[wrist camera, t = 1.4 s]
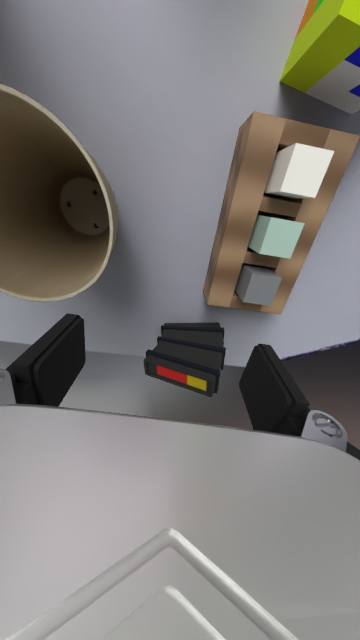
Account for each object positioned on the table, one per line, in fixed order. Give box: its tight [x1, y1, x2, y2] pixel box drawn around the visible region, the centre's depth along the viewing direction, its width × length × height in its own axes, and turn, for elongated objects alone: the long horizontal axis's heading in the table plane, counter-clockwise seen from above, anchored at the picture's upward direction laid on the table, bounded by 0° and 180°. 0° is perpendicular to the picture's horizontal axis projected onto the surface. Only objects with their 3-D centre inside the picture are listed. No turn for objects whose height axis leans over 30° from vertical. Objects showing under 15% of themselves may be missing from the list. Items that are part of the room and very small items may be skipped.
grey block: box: [235, 264, 282, 306], centre depth 30 cm, size 4×4×5 cm
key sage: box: [248, 215, 305, 259], centre depth 26 cm, size 4×4×5 cm
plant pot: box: [0, 84, 118, 302], centre depth 23 cm, size 15×15×16 cm
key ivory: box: [264, 143, 334, 199], centre depth 23 cm, size 4×4×5 cm
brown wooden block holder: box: [203, 111, 360, 314], centre depth 29 cm, size 22×12×6 cm, turn 171°
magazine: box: [144, 323, 226, 397], centre depth 36 cm, size 4×13×15 cm, turn 90°
